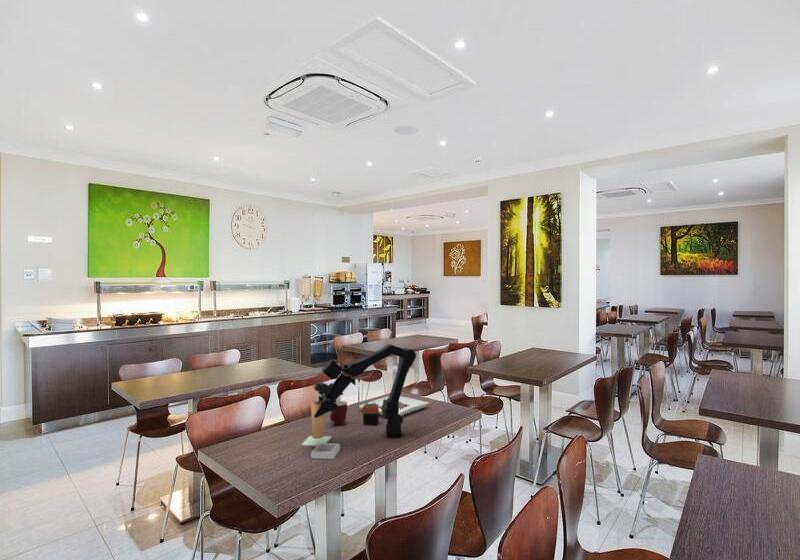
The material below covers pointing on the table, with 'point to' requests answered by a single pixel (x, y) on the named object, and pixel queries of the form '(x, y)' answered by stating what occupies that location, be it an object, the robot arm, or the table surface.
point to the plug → (317, 421)
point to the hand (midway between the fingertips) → (314, 415)
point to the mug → (339, 413)
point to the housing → (325, 451)
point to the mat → (315, 441)
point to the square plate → (412, 403)
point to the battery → (370, 414)
